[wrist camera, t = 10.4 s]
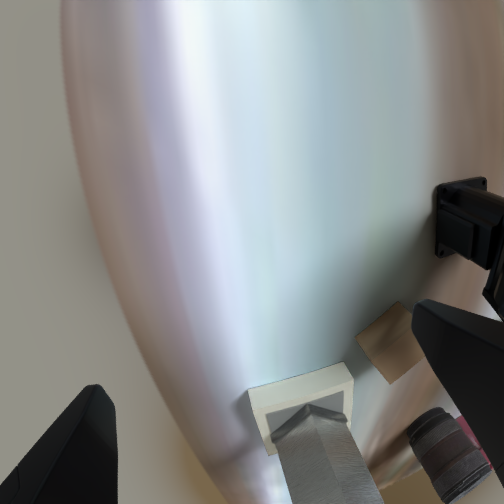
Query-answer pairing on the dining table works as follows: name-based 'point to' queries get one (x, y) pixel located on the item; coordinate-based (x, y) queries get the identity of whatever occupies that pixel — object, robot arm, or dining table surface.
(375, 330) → the walnut block
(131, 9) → the dining table surface
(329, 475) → the housing
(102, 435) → the robot arm
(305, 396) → the stand
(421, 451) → the camera lens
